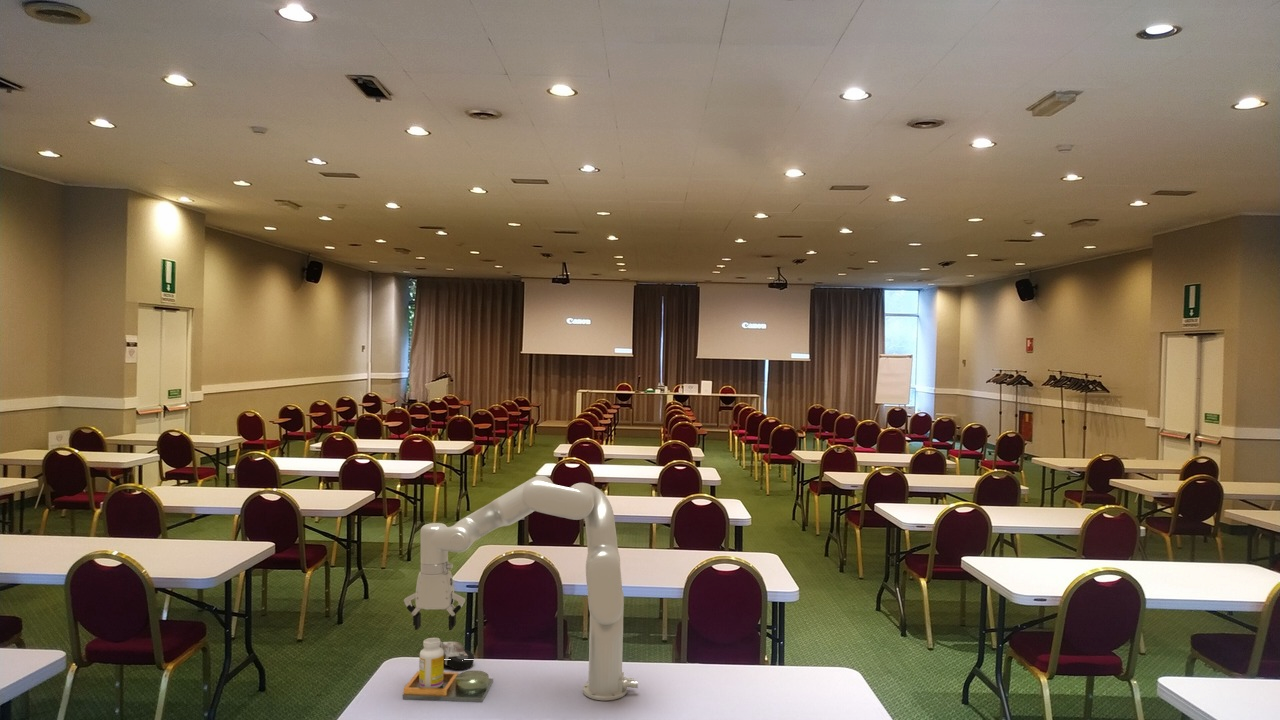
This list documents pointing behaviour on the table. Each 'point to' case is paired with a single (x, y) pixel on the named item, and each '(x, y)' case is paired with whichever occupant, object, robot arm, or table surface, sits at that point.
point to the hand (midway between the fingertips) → (434, 628)
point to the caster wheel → (456, 655)
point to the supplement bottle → (431, 664)
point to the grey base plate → (452, 687)
